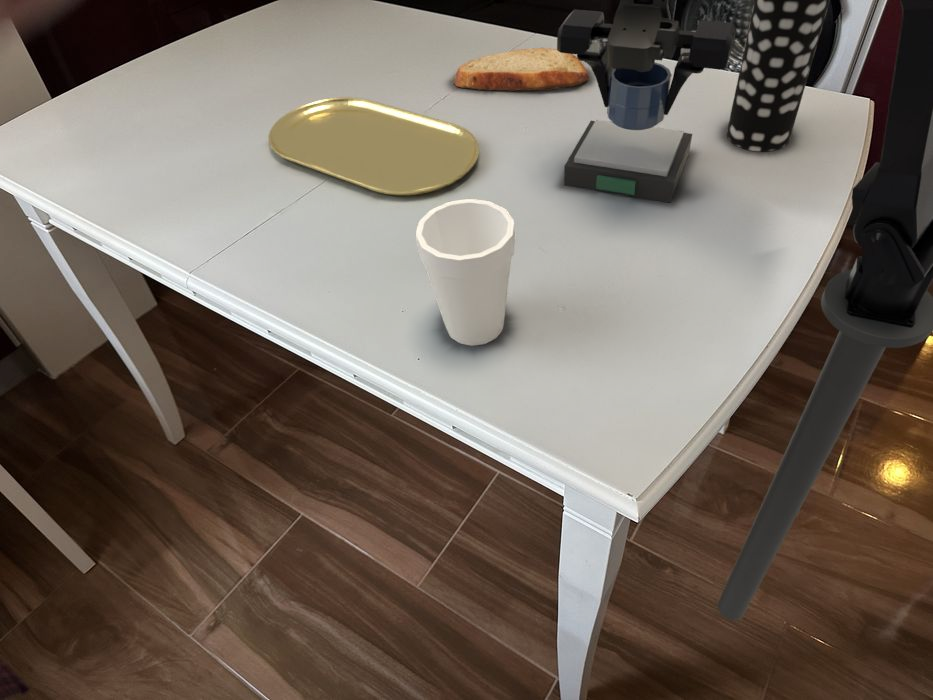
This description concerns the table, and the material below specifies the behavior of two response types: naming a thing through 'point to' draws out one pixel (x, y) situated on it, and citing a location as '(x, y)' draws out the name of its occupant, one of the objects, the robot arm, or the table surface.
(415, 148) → the serving platter
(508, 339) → the table surface
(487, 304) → the foam cup
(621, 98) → the small blue cup
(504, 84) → the bread slice
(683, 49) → the robot arm
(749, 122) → the white-spotted black cylinder
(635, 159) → the scale
